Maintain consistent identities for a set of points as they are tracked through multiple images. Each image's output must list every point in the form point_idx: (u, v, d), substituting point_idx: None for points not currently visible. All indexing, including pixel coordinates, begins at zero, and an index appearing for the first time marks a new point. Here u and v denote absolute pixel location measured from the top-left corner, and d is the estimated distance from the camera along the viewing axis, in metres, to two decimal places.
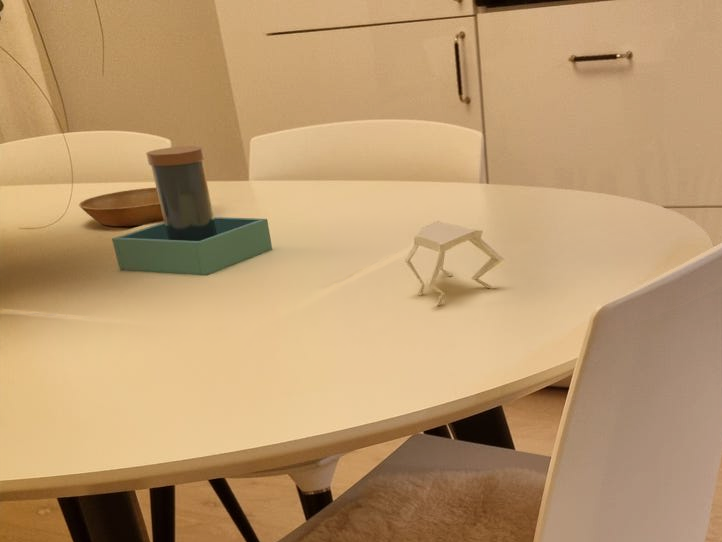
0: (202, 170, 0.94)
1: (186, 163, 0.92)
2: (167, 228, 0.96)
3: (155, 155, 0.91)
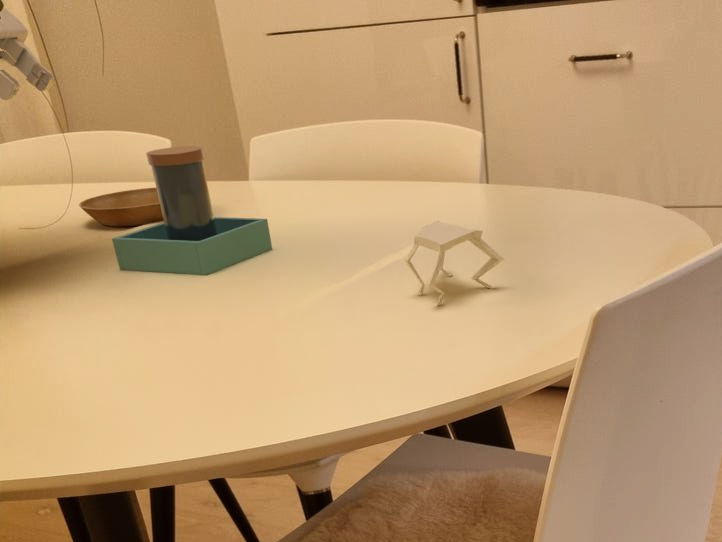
0: (202, 170, 0.94)
1: (186, 163, 0.92)
2: (167, 228, 0.96)
3: (155, 155, 0.91)
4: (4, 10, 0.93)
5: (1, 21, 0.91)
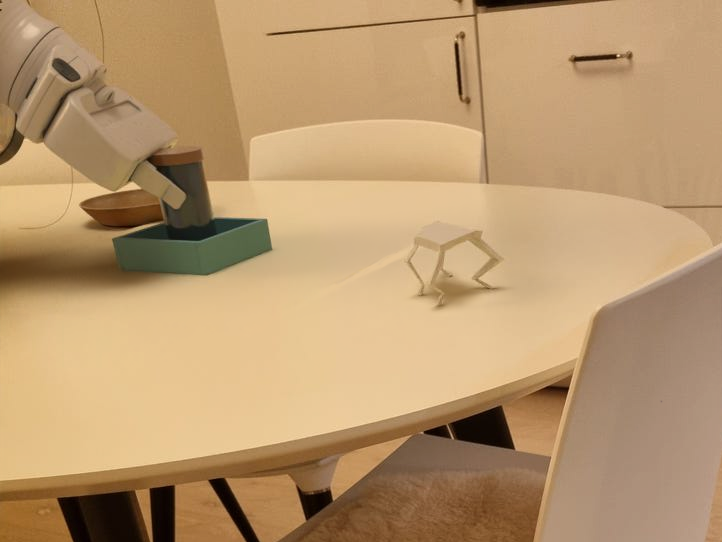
0: (202, 170, 0.94)
1: (186, 163, 0.92)
2: (167, 228, 0.96)
3: (155, 155, 0.91)
4: (158, 119, 0.99)
5: (160, 132, 0.96)
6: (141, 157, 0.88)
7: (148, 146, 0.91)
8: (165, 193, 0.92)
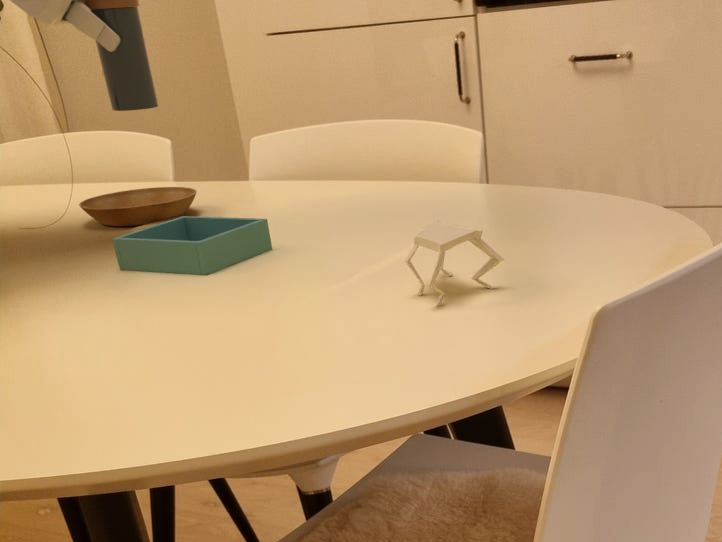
0: (137, 17, 0.99)
1: (120, 7, 0.97)
2: (105, 74, 1.01)
3: None
4: None
5: None
6: None
7: None
8: (100, 35, 0.97)
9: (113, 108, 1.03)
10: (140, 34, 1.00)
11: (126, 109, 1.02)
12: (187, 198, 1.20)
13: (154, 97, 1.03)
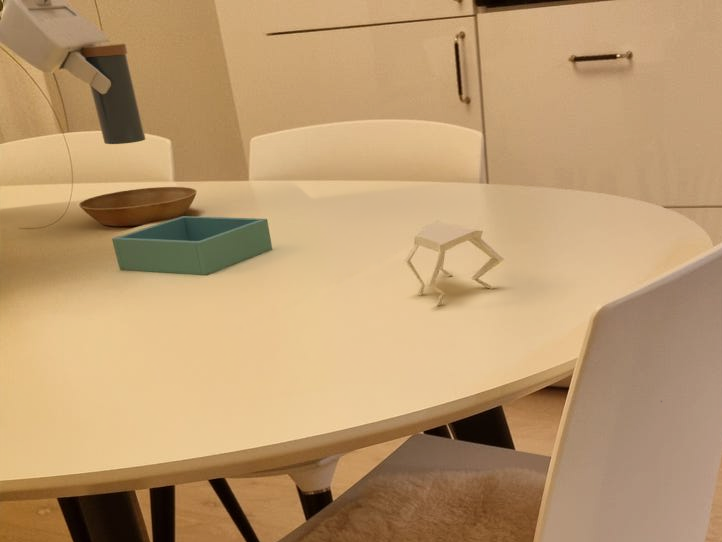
0: (126, 62, 1.13)
1: (111, 55, 1.11)
2: (98, 112, 1.15)
3: (85, 47, 1.10)
4: (92, 24, 1.18)
5: (91, 33, 1.16)
6: (71, 46, 1.07)
7: (78, 40, 1.10)
8: (93, 80, 1.11)
9: (105, 141, 1.17)
10: (128, 77, 1.14)
11: (117, 143, 1.16)
12: (187, 198, 1.20)
13: (141, 131, 1.17)
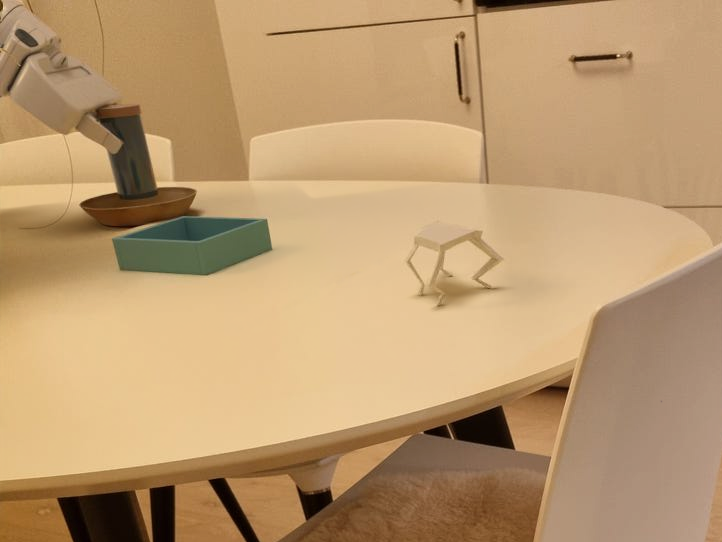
0: (140, 122, 1.17)
1: (126, 116, 1.15)
2: (113, 170, 1.19)
3: (101, 109, 1.14)
4: (106, 82, 1.22)
5: (106, 92, 1.19)
6: (87, 108, 1.11)
7: (94, 101, 1.13)
8: (104, 140, 1.13)
9: (120, 197, 1.20)
10: (143, 136, 1.18)
11: (131, 198, 1.20)
12: (187, 198, 1.20)
13: (155, 187, 1.21)
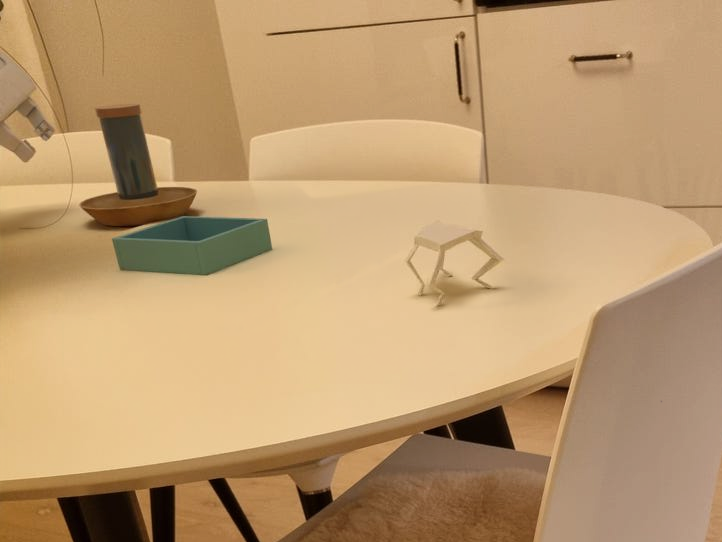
0: (140, 122, 1.17)
1: (126, 116, 1.15)
2: (113, 170, 1.19)
3: (101, 109, 1.14)
4: (20, 71, 1.23)
5: (20, 86, 1.21)
6: (2, 118, 1.13)
7: (9, 105, 1.16)
8: (16, 149, 1.16)
9: (120, 197, 1.20)
10: (143, 136, 1.18)
11: (131, 198, 1.20)
12: (187, 198, 1.20)
13: (155, 187, 1.21)
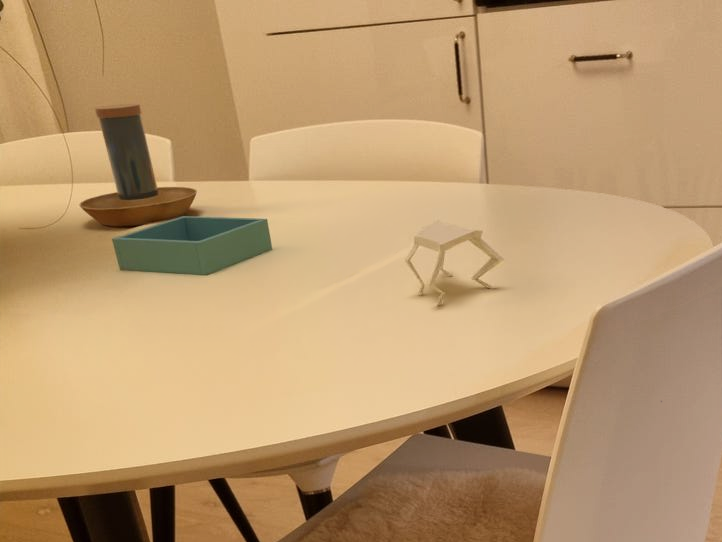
0: (140, 122, 1.17)
1: (126, 116, 1.15)
2: (113, 170, 1.19)
3: (101, 109, 1.14)
4: None
5: None
6: None
7: None
8: None
9: (120, 197, 1.20)
10: (143, 136, 1.18)
11: (131, 198, 1.20)
12: (187, 198, 1.20)
13: (155, 187, 1.21)
